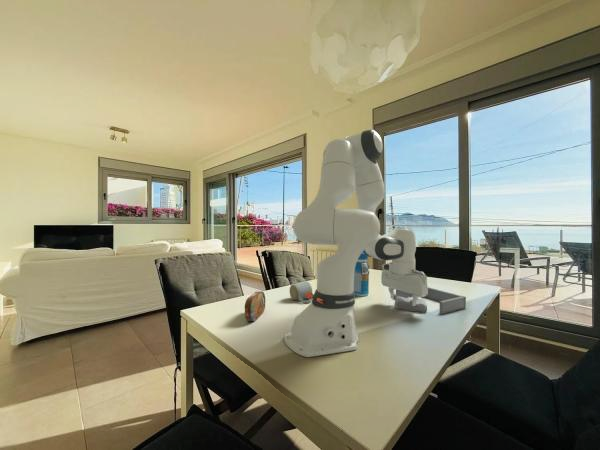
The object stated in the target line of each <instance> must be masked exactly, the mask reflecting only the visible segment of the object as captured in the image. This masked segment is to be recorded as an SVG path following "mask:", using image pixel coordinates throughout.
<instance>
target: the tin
mask: <svg viewBox="0 0 600 450" xmlns="http://www.w3.org/2000/svg"><path fill="white" fill-rule="evenodd" d="M265 309H266V295H265V292H264V291H255V292H254V293H252V294H250V295H249V297H248V298H246V300H245V303H244V319H245V320H246V321H248V322H256V321H257V320H258V319H259V318H260V317H261V315H263V314H264V312H265Z"/></svg>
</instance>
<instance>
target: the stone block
mask: <svg viewBox="0 0 600 450" xmlns="http://www.w3.org/2000/svg"><path fill="white" fill-rule="evenodd" d="M412 299H413V298H410V297H405V298H404V297H399V296H397V298H396V299H394V307H395V309H396V310H400V311H401V310H402V311H410V312H418V313H427V311H428V305H427V303H426V300H425V299H421V298H418V299H417V301H416V305H415V306H412V305H410V300H412Z"/></svg>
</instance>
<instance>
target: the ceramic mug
mask: <svg viewBox="0 0 600 450" xmlns="http://www.w3.org/2000/svg"><path fill="white" fill-rule="evenodd" d="M306 292H311V293H313V288H312V285H311V283H310V282H309V281H307V280H306V281H301V282H296V283H293V284H291V285H290V287H289V295H290V298H291V299H292V300H293V301H299V302H300V303H303V304H311V303H312V299H308V298H306V297H305V295H306Z"/></svg>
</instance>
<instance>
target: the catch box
mask: <svg viewBox="0 0 600 450" xmlns="http://www.w3.org/2000/svg"><path fill="white" fill-rule="evenodd" d="M395 294H396V298H397V296H399V297H404V298H410V297H412V294H409V293H406V292H403V291H399V290H396V289H395ZM424 297H425V298H427V299H432V300H434V301H438V302H439V314H441V315H443V314H444V315H445V314H447V313H451V312H455V311H459V310H462V309H466V308H467V307H466V306H467V305H466V304H467V303H466V302H467V297H466V296H463V295H460V294H455V293H452V292H448V291H444V290H440V289H437V288H432V287H429V286H428V294H427V295H426V296H424ZM424 297H423V298H424Z"/></svg>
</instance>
